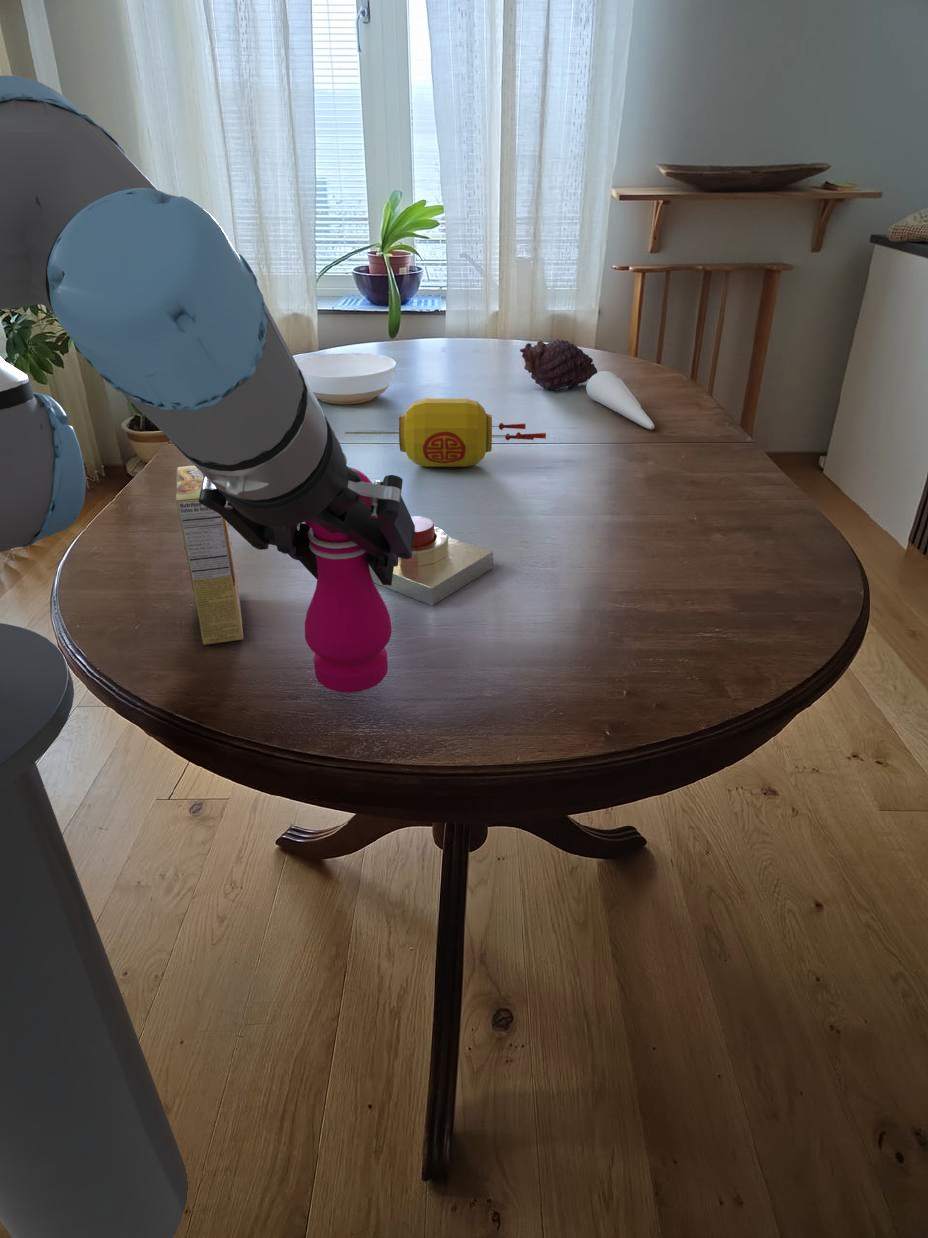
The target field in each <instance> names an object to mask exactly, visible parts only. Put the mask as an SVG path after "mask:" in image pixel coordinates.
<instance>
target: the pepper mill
mask: <svg viewBox="0 0 928 1238" xmlns="http://www.w3.org/2000/svg"><path fill="white" fill-rule="evenodd" d="M343 454H344V458H345V461H346V465H347V464H348V463H347V462H348V458H347V456H346V454H345V453H344V452H343ZM348 467H349V468H351V469H352V470H354V471H356V472H357V473H358V474H359V475H360V477H361V480H362V482H368V483H373V482H372V481H371V480H370V478H369V477H368V476H367V475H365V473H364V472H362V471H360V470H358V469H356V468H353V467H350V466H348ZM364 503H365V502H364ZM365 504H366V503H365ZM366 505H367V504H366ZM304 524H307V525H308V526H309V527H310V530H309V531H308V537H309V539H310V543H309V548H310V550H311V551H312V552H313V553H314V554H316V559H317V567H318V579H316V585H315V588H314V589H315V590H314V593H313V596H312V597H311V601H310V603H309V606H308V608H307V611H306V614H305V620H304V639H305V642H306V644H307V646H308V648H309V649H310V650H311V651H312V653H313V654H314V656H313V666H314V674H315V675H314V676H315V679H316V680H317V682H318V683H319V684H320V685H321V686H322V687H324V688H325V689H327V690H329V691H334V692H339V693H358V692H363V691H366V690H370V689H372V688H374V687H375V686H378V684H380V683H381V682H383V680H384V679H385V678H386V676H387V674H388V670H389V669H388V668H389V663H388V652H387V649H386V646H387V645H388V643H389V642H390V640H391V638H392V629H393V628H392V622H391V616H390V613H389V610H388V607H387V604H386V602H385V600H384V598H383V596H382V594H380V592H379V589H378V588H377V585H376V583H374V582H373V580H372V577H371V574H370V569H369V564H368V562H367V555H368V552H367V551H365V550H364V549H362V548H361V547H360V546H358V545H357V544H356V543H354V542H353V541H352V540H350V539H349V538H347V537H346V536H345V535H343V534H342V533H330V532H329V531H327V530H326V529H325V528H323V527H322V526H320V525H319V524H318V523H311V522H309V521H308V520H307V521H305V522H304Z"/></svg>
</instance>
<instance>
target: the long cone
mask: <svg viewBox="0 0 928 1238" xmlns="http://www.w3.org/2000/svg"><path fill="white" fill-rule="evenodd" d="M585 388H586V393H587V395H588V397H589V398H590V399H592V400H593V401H595V402H597V403H599V404H601V405H603V406H605V407H607V408H608V409H610V410H612V411H614V412H615V413H617V414H619V415H621V416H623V417H625V418H627V419H628V420H630V421H632V422H634V423H635V424H637V425H639V426H641V427H643V428H645V429H647V430H650V431H653V430H654V429H655V424H654V422H653V420H651V418H650V417H649V416H648V414H646V412H645V411H644V409H643V408H642V405H641V403H640V402H639V401H638V399H637V398H636V397H635V396H634V394H633V393H632V392H631V390H630V389H629V388H628V387H627V385H626V384H625V382H624V381H623V380H622V378H619V377H618V376H617V375H615V374H614V373H613V372H611V371H609V370H608V371H607V370H603V371H597V373H596V374H594V375H593V376H592V377H591V378H590V379H588V380H587V382H586V387H585Z"/></svg>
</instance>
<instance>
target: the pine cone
mask: <svg viewBox="0 0 928 1238" xmlns="http://www.w3.org/2000/svg"><path fill="white" fill-rule="evenodd" d="M519 352H520V353H522V354H521V358H523V359H524V367H523V368H524V370H526V371H527V372H528V374H530V378H531V379H532V380H534V382H535V384H536V385H539V386H540V387H541V388H545V389H546V390H547V391H549V390H552V389H553V390H554V391H557V390H559V389H560V388H564V389H565V388H567V387H568V388H569V387H577V386H578V385H579V384H585V383H587V382H588V381H589V379H590V378H591V377H592V376H593V375H594V374H596V373H598V370H597V367H596V366H595V364H594V363H593V361H594V359H593V358H592V357H590V356H589V355H588V354H586V353H585V352H584V351H583V349H581V348H579V347H578V346H577V345H575V344H574V343H572V342H571V343H570V341H568V340H564V339H561V340H560V339H556V340H553V341H549V342H548V343H545V342H543V340H539V341H537V342H536V344H535V345H534V346H532V343H526V344H525V345H524V347H523V348H520V349H519Z"/></svg>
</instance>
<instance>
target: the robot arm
mask: <svg viewBox="0 0 928 1238" xmlns="http://www.w3.org/2000/svg"><path fill="white" fill-rule="evenodd" d="M38 305H39V306H40V305H41V306H45V308H47V309H48V311H50V313H51V314H52V315H53V316H54V317H55V318H56V319H57V322H58V323H59V325H60V326H61V328H62V329H63V331H64V332H65V333H66V334H67V335H68V337H69V338H70V339H71V341H72V342H73V344H74V346H75V348H76V349H77V350H78V352H80V354H81V355H82V357H84V359H85V360H86V361H87V363H89V364H90V365H91V367H92V368H93V369H94V370H95V371H96V372H97V373H98V375H99V376H100V377H102V379H103V380H104V381H105V382H106V383H108V384H109V385H110V386H111V388H113V390H116V392H118V393H119V392H121V394H122V395H123V396H124V397H125V398H126V399H127V400H129V402H130V403H131V404H132V405H133V406H134V407H135V408H137V410H139V412H140V413H141V414H143V415H144V416H145V418H147V419H148V420H149V421H150V422H151V423H152V424H153V425H154V426H155V427H156V428H157V429H158V430H159V431H161V432H162V433H163V434H164V435H165V436H166V437H167V438H168V439H169V440H170V441H171V443H173V445H174V446H175V447H176V448H177V449H178V450H179V451H180V453H182V455H183V456H184V457H186V459H188V460H189V462H191V463H192V465H193V466H196V467H197V468H198V469H199V470H200V471H201V473H202V474H203V481H202V486H201V491H200V496H199V503H201V504H202V505H204V506H206V507H208V508H210V509H212V510H213V511H215V512H217V513H219V514H220V515H221V516H222V517H223V518H224V519H225V520H226V521H227V522H228V525H229V526H231V527H232V528H233V529H234V530H235V531H236V532H237V533H238V534H239V535H240V536H241V537H242V538H243V539H244V540H245V541H246V542H247V543H249V545H250V546H252V547H253V548H254V549H256V550H259V551H263V550H268V549H269V545H271V546H276V550H277V551H278V552H279V553H282V554H285V555H288V556H289V557H290V558H291V559H293V560H295V561H299V563H301V565H303V567H304V568H305V569H306V570H307V571H308V572H309V573H310V574H311V575H312V576H313V577H314V578H315V579H316V580H317V579H318V567H317V559H316V554H314V553H313V552H312V551H311V550H310V548H309V543H310V539H309V537H308V531H309V530H310V527H309V526H308V525H307V524H306V523H305V521H307V520H308V521H309V522H311V523H318V524H319V525H320V526H322V527H323V528H325V529H326V530H327V531H329V532H330V533H342V534H343V535H345V536H346V537H347V538H349V539H350V540H352V541H353V542H354V543H356V544H357V545H358V546H360V547H361V548H362V549H364V550H365V551H367V552H368V555H367V562H368V564H369V565H370V567H371V568H372V570H373V571H374V573H375V574H376V576H377V577H378V578H379V580H380V581H381V583H382V584H383V585H392V577H393V569H394V566H396V567H397V565H398V561H399V558H401V559H409V558H412V550H413V542H414V534H415V525H414V522H413V520H412V518H411V516H412V515H411V514H410V512H409V510H408V507H407V505H406V503H405V501H404V499H403V496H402V489H403V481H404V480H403V478H402V477H400V476H398V475H394V474H388V475H385V476H384V477H383V480H375V481H374V482H372V483H368V482H362V480H361V477H360V475H359V474H358V473H357V472H356V471H354V470H352V469H351V468H352V467H350V466H348V465H347V464H346V461H345V458H344V454H345V453H344V451H343V448H342V446H341V443H340V440H339V438H338V437H337V435H336V433H335V432H334V430H333V428H332V426H331V425H330V422H329V420H328V419H327V416H326V415H325V413H324V411H323V409H322V406H321V404H320V403H319V399H318V398H316V397H315V395H314V393H313V391H312V390H311V388H310V386H309V384H308V382H307V381H306V379H305V377H304V375H303V373H302V372H301V370H300V369H299V367H298V365H297V362H296V359H295V358H294V356H293V354H292V352H291V350H290V348H289V347H288V345H287V342H286V340H285V338H284V337H283V334H282V333H281V331H280V328H279V326H278V325H277V323H276V321H275V320H274V317H273V316H272V313H271V312H270V310H269V308H268V306H267V304H266V302H265V299H264V295H263V293H262V291H261V289H260V287H259V285H258V279H257V277H256V275H255V273H254V271H253V269H252V268H251V266H250V265H249V263H248V261H247V260H246V259H245V257H243V255H242V254H239V253H238V252H237V251H236V249H235V248H234V246H233V244H232V243H231V241H230V239H229V237H228V236H227V234H226V233H225V232H224V230H223V228H222V226H221V225H220V224H219V223H218V221H217V220H216V219H215V217H214V216H213V215H211V214H210V212H208V211H207V210H206V209H204V208H203V206H201V205H200V204H199V203H197V202H196V201H194V200H192V199H191V198H187V197H185V196H181V195H180V196H177V195H173V194H169V193H166V192H164V191H161V190H159V189H158V188H157V187H156V185H155V184H154V183H152V181H151V180H150V179H149V178H148V177H147V176H146V175H145V173H143V172H142V170H140V168H139V167H138V166H136V164H135V163H134V162H133V161H132V160H131V159H130V158H129V157H128V156H127V155H126V152H125V150H124V149H123V148H122V147H121V146H120V144H118V142H117V141H116V140H115V139H114V137H113V136H112V134H110V132H108V131H107V130H106V129H105V128H104V127H103V126H101V125H99V124H97V123H96V122H95V121H94V120H93V119H91V117H89V116H88V114H84V113H83V112H82V111H81V110H80V109H78V108H77V107H76V106H75V105H74V103H72V102H71V101H70V100H69V99H68V98H66V97H65V96H64V95H63V94H61V93H60V92H58V91H57V90H55V88H52V87H50V86H48V85H46V84H44V83H42V82H40V81H38V80H36V79H32V78H29V77H23V76H18V75H7V74H5V75H4V74H3V75H1V74H0V311H4V310H9V309H18V308H23V307H25V308H26V307H31V306H38ZM343 453H344V454H343ZM349 467H350V468H349ZM85 497H86V470H85V465H84V459H83V454H82V450H81V446H80V442H79V440H78V437H77V435H76V432H75V429H74V428H73V426H72V425H69V420H68V415H67V413H66V412H65V410H64V409H63V407H62V406H61V405H60V404H59V403H58V402H57V401H56V400H55V399H54V398H52V397H51V396H49V395H47V394H43V393H40V392H37V391H33V388H32V384H31V382H30V379H29V376H28V375H27V373H25V372H23V371H21V370H20V369H18V368H17V367H15V366H14V365H12V364H10V363H9V362H7V361H5V359H4V358H3V357H2V356H0V553H3V552H6V551H9V550H13V549H16V548H20V547H21V548H26V547H30V546H32V545H34V544H36V543H37V542H38V541H41V540H43V539H45V538H48V537H51V536H53V535H55V534H58V533H60V532H64V531H65V530H67V529H69V528H70V527H72V526H73V525H74V523H76V522H77V520H78V518H79V516H80V514H81V512H82V509H83V506H84V505H85V500H86V499H85ZM364 502H365V503H366V504H367V505H366V504H365V503H364ZM298 526H299V528H298Z"/></svg>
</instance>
